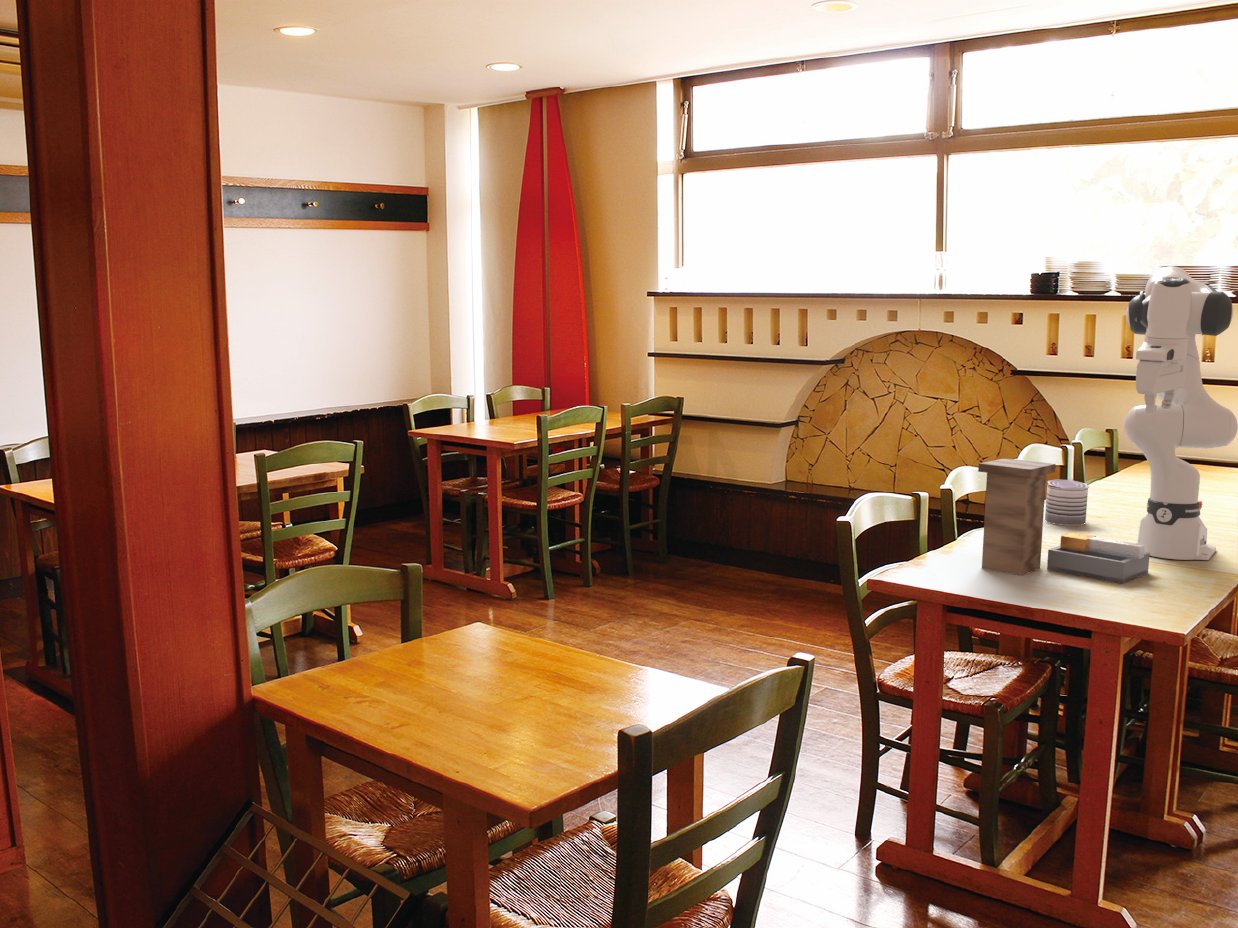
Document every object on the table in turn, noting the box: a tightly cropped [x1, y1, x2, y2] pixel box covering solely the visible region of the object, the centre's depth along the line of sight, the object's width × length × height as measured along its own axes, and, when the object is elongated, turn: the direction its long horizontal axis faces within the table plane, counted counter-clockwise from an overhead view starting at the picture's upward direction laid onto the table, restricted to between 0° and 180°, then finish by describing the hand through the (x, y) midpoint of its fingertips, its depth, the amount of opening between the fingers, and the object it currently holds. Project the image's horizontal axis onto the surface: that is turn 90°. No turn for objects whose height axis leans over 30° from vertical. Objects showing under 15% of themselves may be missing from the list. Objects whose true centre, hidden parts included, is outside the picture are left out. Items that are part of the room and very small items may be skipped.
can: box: [1044, 478, 1090, 526], centre depth 315 cm, size 11×11×12 cm
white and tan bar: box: [1059, 531, 1145, 559], centre depth 255 cm, size 18×6×3 cm, turn 44°
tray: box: [1046, 545, 1150, 584], centre depth 256 cm, size 15×18×5 cm
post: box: [977, 458, 1057, 577], centre depth 257 cm, size 13×13×26 cm
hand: (1158, 410), depth 243 cm, fingers open, 8 cm apart
